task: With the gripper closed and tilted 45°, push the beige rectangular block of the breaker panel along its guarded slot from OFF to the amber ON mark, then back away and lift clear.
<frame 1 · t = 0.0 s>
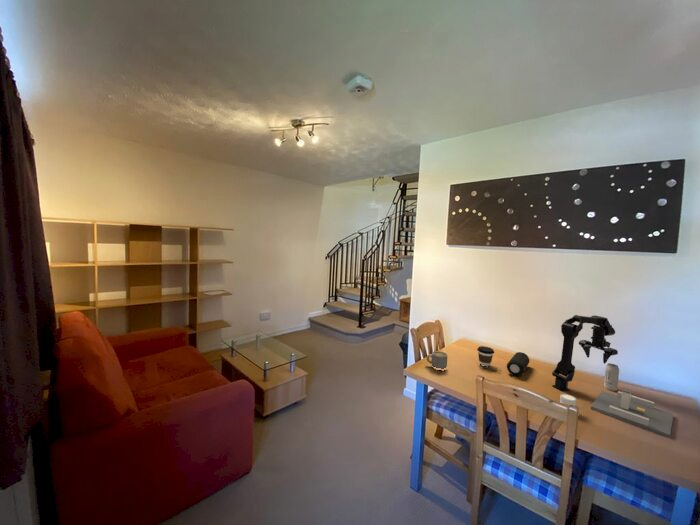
hand: (596, 360, 180), 15 cm above the table, tool pointing down, fingers open, 9 cm apart
coffee mug: (436, 367, 196), on the table
coffee cup: (484, 365, 202), on the table
breaker panel: (631, 412, 149), on the table
energy drink can: (610, 389, 174), on the table
beige rectangular block: (625, 398, 150), point 7 cm above the table, slide at 0.0 cm
white cylinder: (567, 410, 149), on the table
portable speaker: (517, 370, 196), on the table
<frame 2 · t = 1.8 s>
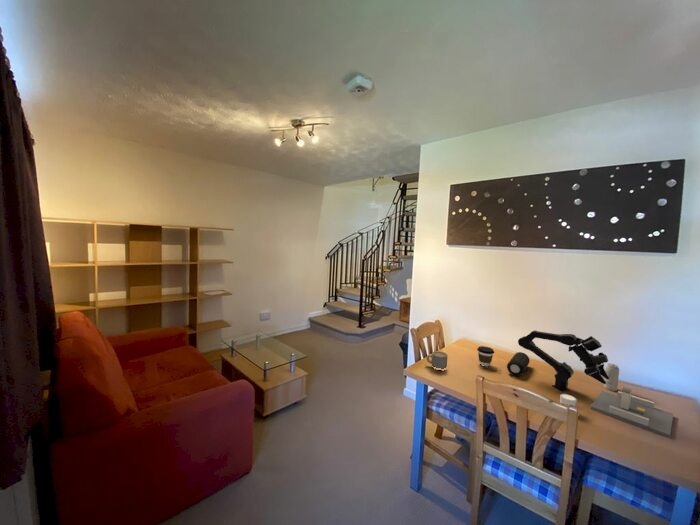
hand: (606, 381, 156), 12 cm above the table, tool tilted 45°, fingers open, 9 cm apart
nothing on the table moved.
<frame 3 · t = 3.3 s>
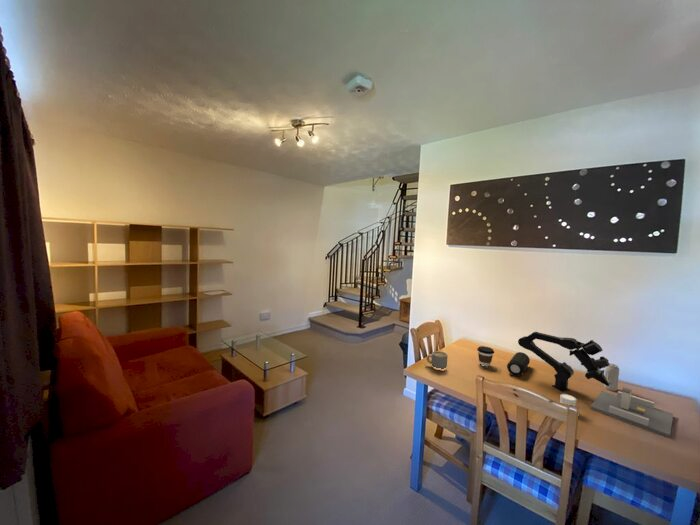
hand: (608, 385, 155), 11 cm above the table, tool tilted 45°, fingers closed
nothing on the table moved.
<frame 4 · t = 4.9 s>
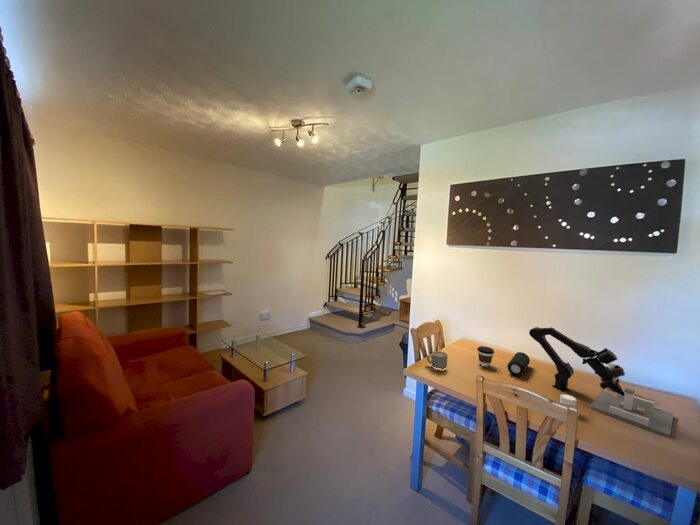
hand: (624, 395, 151), 8 cm above the table, tool tilted 45°, fingers closed, pressing on beige rectangular block
beige rectangular block: (628, 399, 149), point 7 cm above the table, slide at 1.1 cm, touching gripper
everything else where it was.
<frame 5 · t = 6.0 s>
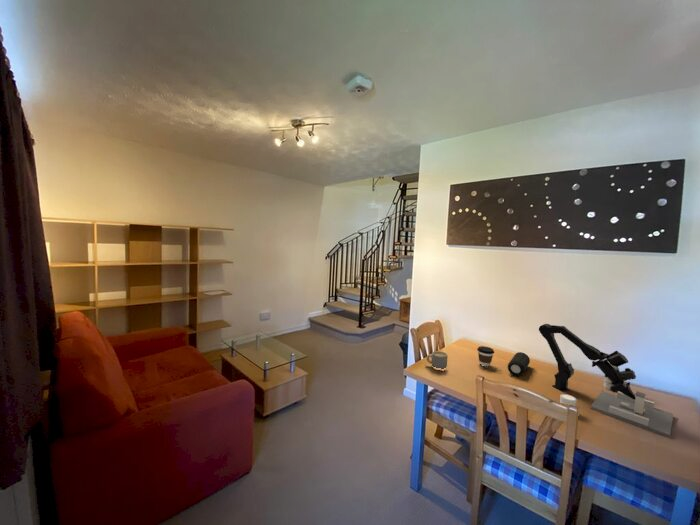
hand: (635, 399, 147), 8 cm above the table, tool tilted 45°, fingers closed, pressing on beige rectangular block
beige rectangular block: (639, 402, 146), point 7 cm above the table, slide at 5.2 cm, touching gripper
everything else where it was.
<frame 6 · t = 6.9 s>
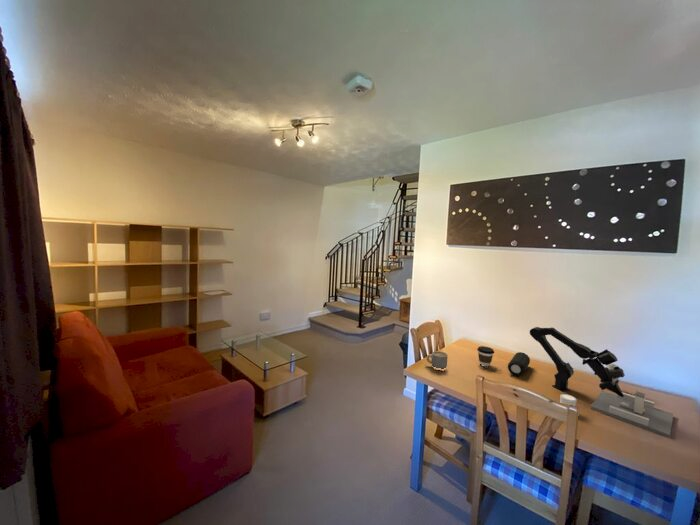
hand: (623, 396, 151), 7 cm above the table, tool tilted 45°, fingers closed
beige rectangular block: (639, 402, 146), point 7 cm above the table, slide at 5.0 cm
everything else where it was.
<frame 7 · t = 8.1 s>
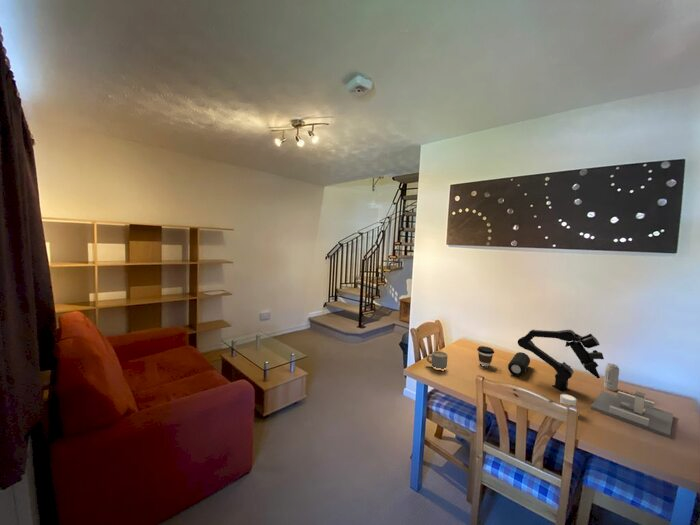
hand: (598, 377, 160), 13 cm above the table, tool tilted 35°, fingers closed
nothing on the table moved.
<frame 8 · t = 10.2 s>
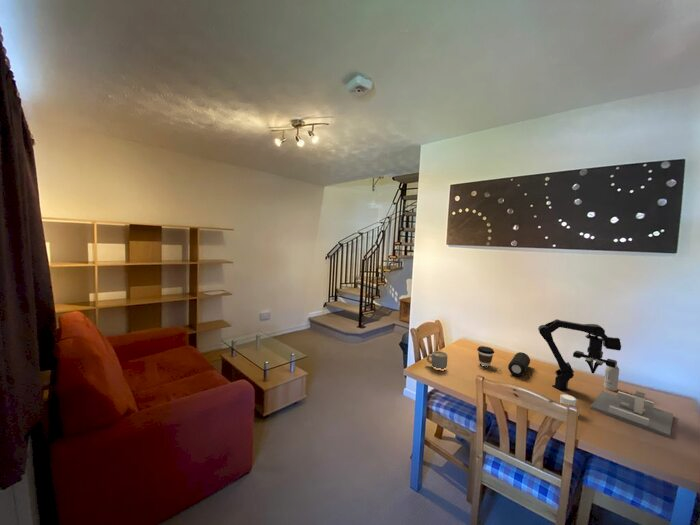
hand: (592, 373, 165), 13 cm above the table, tool pointing down, fingers closed
nothing on the table moved.
at the end: beige rectangular block slide at 5.0 cm; energy drink can moved 0.2 cm from its start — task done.
